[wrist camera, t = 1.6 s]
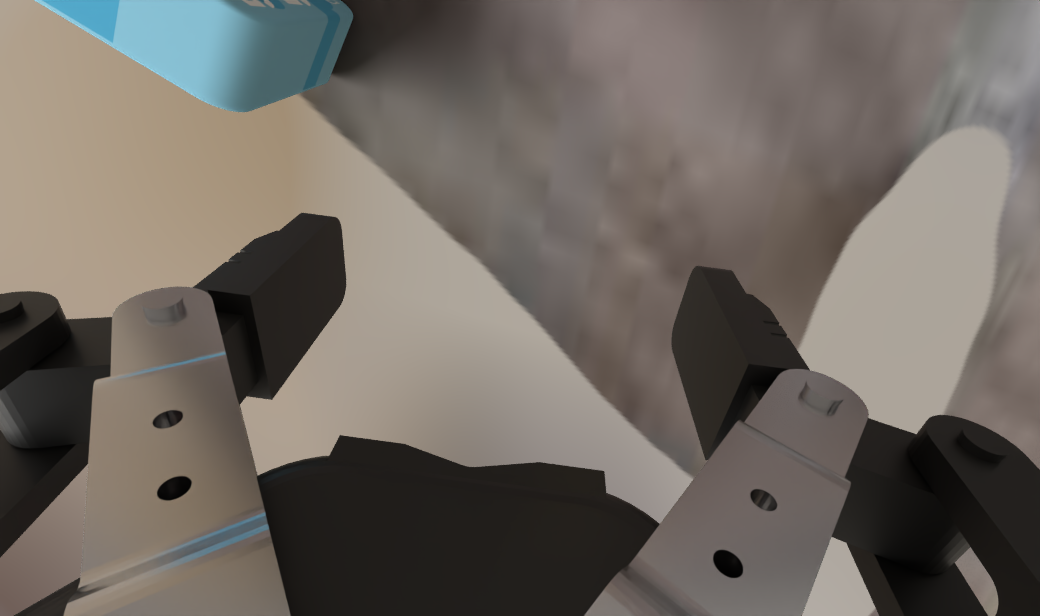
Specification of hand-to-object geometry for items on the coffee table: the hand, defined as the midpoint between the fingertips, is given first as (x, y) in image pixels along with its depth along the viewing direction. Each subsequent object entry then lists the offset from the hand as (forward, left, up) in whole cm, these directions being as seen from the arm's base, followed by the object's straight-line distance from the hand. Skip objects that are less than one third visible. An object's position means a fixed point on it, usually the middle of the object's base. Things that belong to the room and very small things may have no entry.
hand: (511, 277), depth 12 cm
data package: (+18, -4, -24) cm, 31 cm away
